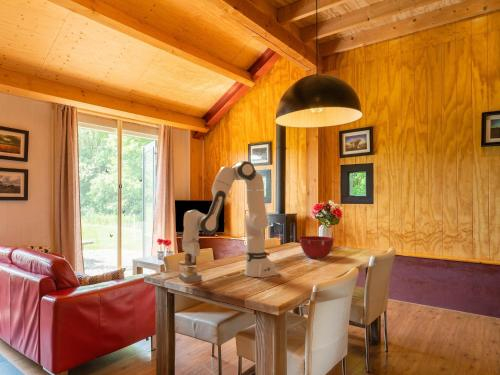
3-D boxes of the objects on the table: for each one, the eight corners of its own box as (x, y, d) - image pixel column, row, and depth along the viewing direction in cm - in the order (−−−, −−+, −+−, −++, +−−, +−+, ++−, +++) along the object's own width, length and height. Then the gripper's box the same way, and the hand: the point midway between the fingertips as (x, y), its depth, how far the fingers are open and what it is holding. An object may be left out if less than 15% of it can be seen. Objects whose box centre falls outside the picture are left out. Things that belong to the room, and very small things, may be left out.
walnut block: (193, 263, 192) (193, 253, 193) (196, 265, 188) (196, 254, 188) (184, 264, 190) (185, 254, 190) (187, 266, 186) (187, 255, 186)
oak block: (193, 272, 193) (193, 265, 193) (197, 274, 188) (197, 267, 188) (183, 273, 190) (183, 266, 190) (187, 275, 185) (187, 268, 185)
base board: (195, 276, 196) (195, 271, 196) (201, 280, 187) (201, 275, 187) (179, 278, 191) (179, 273, 191) (184, 282, 182) (184, 277, 182)
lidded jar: (179, 276, 194) (179, 261, 195) (178, 272, 205) (178, 257, 205) (197, 275, 197) (197, 260, 197) (195, 271, 208) (195, 257, 208)
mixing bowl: (292, 254, 270) (292, 236, 270) (322, 253, 279) (322, 235, 279) (308, 261, 243) (308, 240, 243) (341, 259, 252) (341, 239, 252)
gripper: (202, 239, 182) (202, 264, 182) (190, 235, 200) (189, 257, 199) (192, 240, 179) (191, 265, 179) (180, 235, 196) (179, 258, 196)
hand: (190, 261), depth 189 cm, fingers closed on walnut block, 5 cm apart
